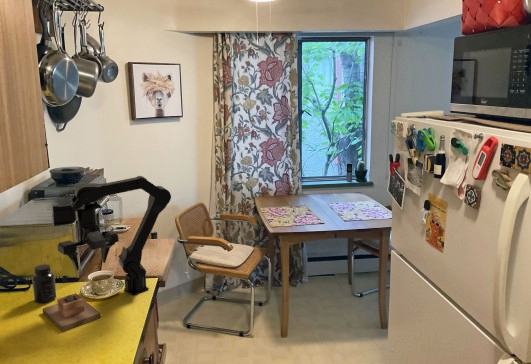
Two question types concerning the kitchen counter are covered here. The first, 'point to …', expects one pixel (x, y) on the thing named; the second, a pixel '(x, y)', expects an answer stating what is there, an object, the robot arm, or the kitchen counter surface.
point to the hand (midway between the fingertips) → (91, 266)
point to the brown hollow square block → (70, 305)
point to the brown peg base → (72, 320)
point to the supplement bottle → (44, 284)
